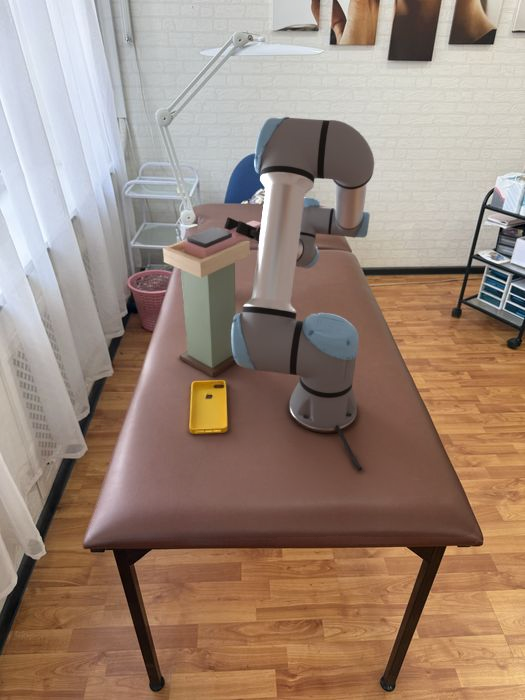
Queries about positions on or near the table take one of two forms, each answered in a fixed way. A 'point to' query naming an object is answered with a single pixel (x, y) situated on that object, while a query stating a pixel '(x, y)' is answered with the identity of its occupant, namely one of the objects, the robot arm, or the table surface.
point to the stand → (208, 304)
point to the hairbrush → (213, 241)
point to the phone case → (208, 407)
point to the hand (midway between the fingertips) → (232, 224)
